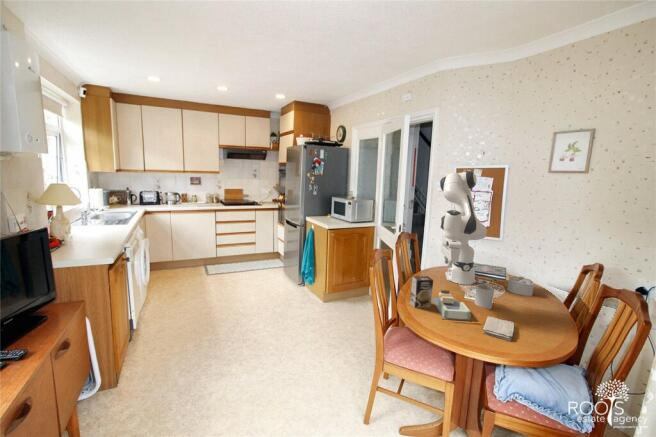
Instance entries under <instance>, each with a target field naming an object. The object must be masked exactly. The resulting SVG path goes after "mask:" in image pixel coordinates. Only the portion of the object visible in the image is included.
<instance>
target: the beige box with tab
mask: <svg viewBox="0 0 656 437" xmlns="http://www.w3.org/2000/svg"><path fill="white" fill-rule="evenodd" d="M438 298H439V299H440V300H441V301H442V302H443V303H444V304H445V303H450V305H452V304H454V299H455V298H454V296H453V295H452V293H450V290H448V289H440V292H438Z"/></svg>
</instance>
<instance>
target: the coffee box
mask: <svg viewBox="0 0 656 437" xmlns="http://www.w3.org/2000/svg"><path fill="white" fill-rule="evenodd" d="M433 287H434V279H433V278H431V277H429V276H428V275H427V276H423V275H422V276H421V275H419V276H417V275H416V276H412V281H411V290H410V300H409V301H410V302H409V305H410V306H412V307H413V308H415V309H421V308H422V309H423V308H431V306H432V299H431V298H432V297H433Z"/></svg>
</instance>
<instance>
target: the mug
mask: <svg viewBox="0 0 656 437" xmlns="http://www.w3.org/2000/svg"><path fill="white" fill-rule="evenodd" d="M494 293H495V288H494V287H493V286H491V285H490V284H489V285H488V284H484V283H479V284H477V285H476V292H475V297H474V304H475V305H476V306H478V307H480V308H485V309H486V310H491V309H492V308H493V300H494Z"/></svg>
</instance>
